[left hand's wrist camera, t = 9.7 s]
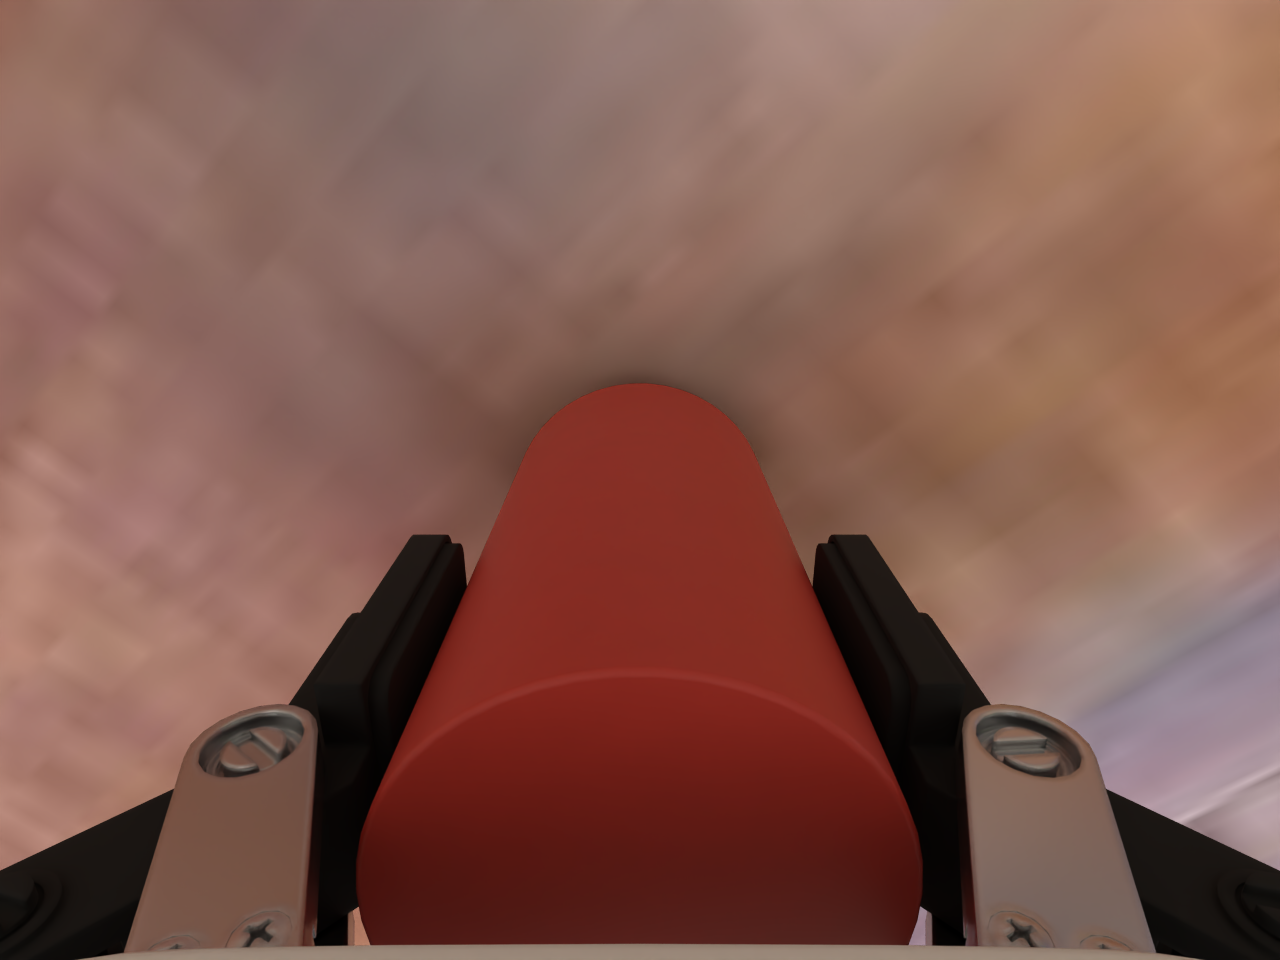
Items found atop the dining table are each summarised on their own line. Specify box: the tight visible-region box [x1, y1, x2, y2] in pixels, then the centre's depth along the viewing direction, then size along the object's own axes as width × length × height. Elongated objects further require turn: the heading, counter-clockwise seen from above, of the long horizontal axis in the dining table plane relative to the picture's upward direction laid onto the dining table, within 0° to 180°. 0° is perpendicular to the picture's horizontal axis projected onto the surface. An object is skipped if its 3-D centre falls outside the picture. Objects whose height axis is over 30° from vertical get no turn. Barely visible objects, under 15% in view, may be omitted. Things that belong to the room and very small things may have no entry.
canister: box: [356, 384, 923, 945], centre depth 12 cm, size 6×6×10 cm
